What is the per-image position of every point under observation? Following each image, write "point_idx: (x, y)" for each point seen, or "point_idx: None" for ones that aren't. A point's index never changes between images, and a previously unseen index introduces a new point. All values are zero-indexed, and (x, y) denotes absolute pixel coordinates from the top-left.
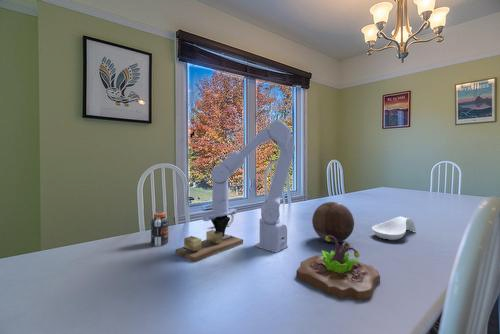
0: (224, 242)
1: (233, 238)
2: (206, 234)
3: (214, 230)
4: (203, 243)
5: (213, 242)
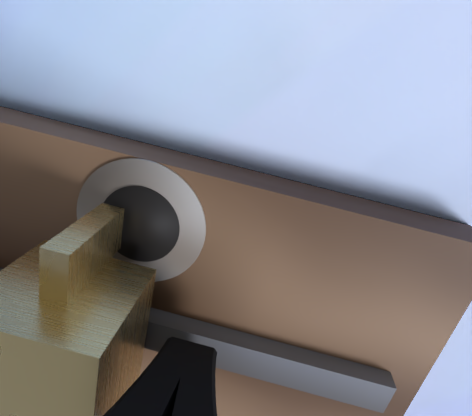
0: None
1: (347, 413)
2: None
3: (87, 398)
4: (22, 213)
5: None
